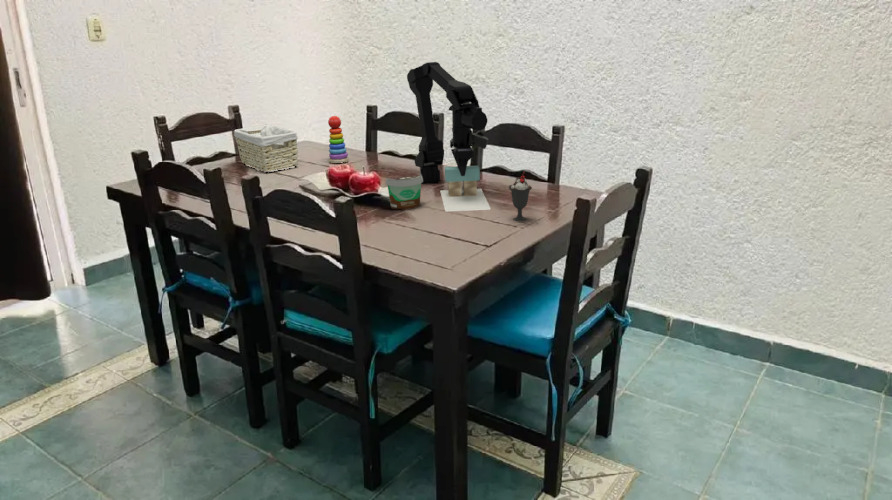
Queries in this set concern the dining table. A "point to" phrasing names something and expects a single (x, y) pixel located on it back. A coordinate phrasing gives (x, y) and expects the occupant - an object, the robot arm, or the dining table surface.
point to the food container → (405, 192)
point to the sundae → (520, 195)
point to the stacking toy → (336, 142)
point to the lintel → (454, 174)
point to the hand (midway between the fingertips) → (462, 173)
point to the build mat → (464, 202)
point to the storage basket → (267, 147)
